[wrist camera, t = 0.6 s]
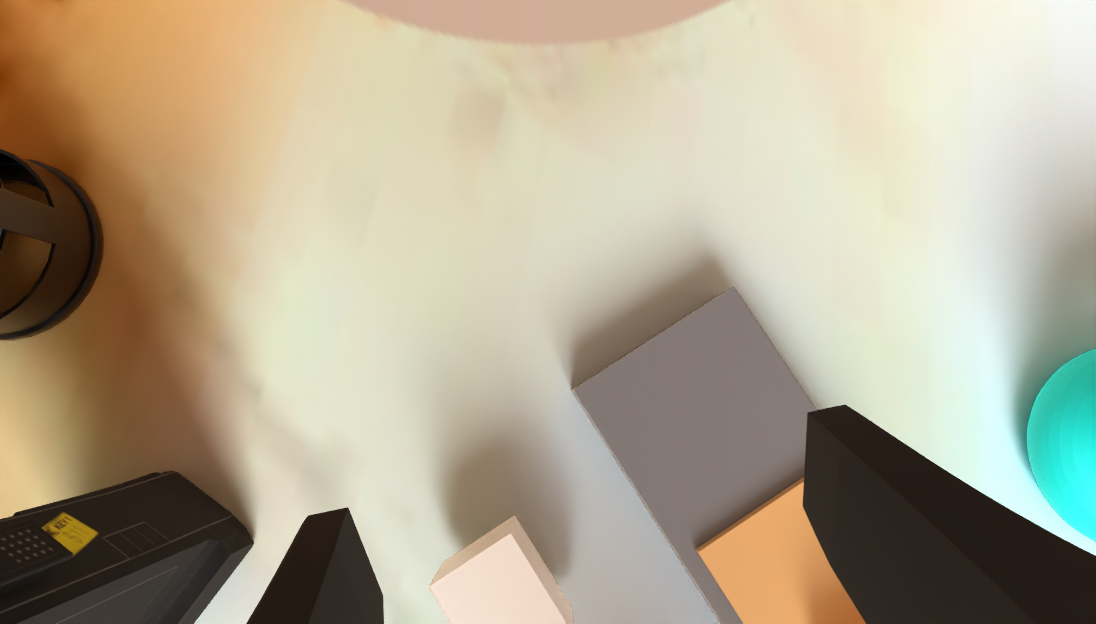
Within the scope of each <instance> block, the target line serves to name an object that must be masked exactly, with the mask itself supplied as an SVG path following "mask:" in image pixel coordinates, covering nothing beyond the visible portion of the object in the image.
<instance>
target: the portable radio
mask: <svg viewBox="0 0 1096 624" xmlns="http://www.w3.org/2000/svg"><path fill="white" fill-rule="evenodd" d="M253 544H254V542H253V540H252V539H251V537H250V535H249V533H248V532H247V530H246V528H245V526H244V525H242V524H241V523H240V522H239V521H238V520H237V519H236V518H235V517H234V516H233V515H232V514H231V513H230V512H229V511H227V510H226V509H225V508H223V507H222V506H221V505H219V504H218V503H217V502H216V501H214V500H213V499H212V498H210V497H209V496H208V495H206V494H205V493H204V492H202V491H201V490H200V489H199V488H197V487H196V486H195V485H193V484H192V483H191V482H189V481H188V480H187V479H185V478H184V477H183V476H182V475H180V474H179V473H177V472H174V471H169V472H164V473H162V474H161V473H151V474H148V475H145V476H142V477H139V478H136V479H134V480H131V481H128V482H125V483H122V484H118V485H115V486H112V487H108V488H105V489H101V490H98V491H95V492H91V493H88V494H84V495H80V496H76V497H73V498H69V499H65V500H61V501H57V502H54V503H50V504H46V505H42V506H39V507H35V508H31V509H27V510H23V511H20V512H16V513H15V514H14V515H13V516H12V517H7V518H3V519H0V624H194V623H195V621H196V620H197V619H198V617H199V616H200V615H201V613H202V612H203V611H204V609H205V608H206V607H207V605H208V604H209V603H210V602H211V600H212V599H213V598H214V596H215V595H216V594H217V592H218V591H219V590H220V588H221V587H222V586H223V584H224V583H225V582H226V581H227V579H228V578H229V577H230V575H231V574H232V573H233V571H234V570H235V569H236V567H237V566H238V565H239V564H240V562H241V561H242V560H243V558H244V557H245V556H246V554H247V553H248V552H249V550H250V549H251V548H252V546H253Z"/></svg>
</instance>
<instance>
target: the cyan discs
mask: <svg viewBox="0 0 1096 624" xmlns="http://www.w3.org/2000/svg"><path fill="white" fill-rule="evenodd" d="M1027 449H1028V456H1029V461H1030V465H1031V469H1032V472H1033V475H1034V477H1035V480H1036V482H1037V484H1038V486H1039V488H1040V490H1041V492H1042V493H1043V495H1044V497H1045V498H1046V500H1047V501H1048V503H1049V504H1050V505H1051V507H1052V508H1053V509H1054V510H1055V511H1056V513H1057V514H1058V515H1059V516H1060V517H1061V518H1062V519H1063V520H1064V521H1066V522H1067V523H1068V524H1069V525H1070V526H1072V527H1073V528H1074V529H1076V530H1077V531H1079V532H1080V533H1082V534H1083V535H1085V536H1086V537H1088V538H1090V539H1092V540H1093V541H1096V349H1093V350H1090V351H1088V352H1085V353H1083V354H1081V355H1079V356H1077V357H1075V358H1073V359H1071V360H1070V361H1068V362H1067V363H1065V364H1064V365H1063V366H1061V367H1060V368H1059V369H1058V370H1057V371H1056V372H1055V373H1054V374H1053V375H1052V376H1051V377H1050V378H1049V379H1048V380H1047V382H1046V383H1045V385H1044V386H1043V387H1042V389H1041V390H1040V392H1039V394H1038V396H1037V398H1036V400H1035V402H1034V404H1033V407H1032V410H1031V413H1030V417H1029V422H1028V428H1027Z"/></svg>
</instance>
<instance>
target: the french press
mask: <svg viewBox="0 0 1096 624" xmlns="http://www.w3.org/2000/svg"><path fill="white" fill-rule="evenodd" d="M2 183H23V184H28V185H32V186H35V187H37V188H39V189H41V190H42V191H44V192H45V194H46V197H47V200H48V202H49V205H50V206H49V205H46V204H43V203H41V202H38V201H35V200H33V199H30V198H27V197H25V196H22V195H19V194H17V193H14V192H12V191H9V190H6V189H4V186H3V184H2ZM8 231H11V232H15V233H18V234H21V235H25V236H28V237H31V238H34V239H38V240H41V241H44V242H48V243H51V244H52V246H51V250H50V254H49V258H48V261H47V263H46V266H45V268H44V270H43V272H42V274H41V276H40V278H39V279H38V281H37V282H36V283H35V285H34V286H33V287H32V289H31V290H30V291H29V293H28V294H27V295H26V296H24V297H23V298H22V299H21V300H20V301H19V302H18V303H17V304H16V305H15V306H13V307H12V308H10V309H9V310H7V311H6V312H4V313H2V314H0V340H17V339H22V338H27V337H31V336H34V335H36V334H39V333H41V332H44V331H46V330H48V329H50V328H52V327H54V326H55V325H57V324H58V323H60V322H61V321H63V320H64V319H66V318H67V317H68V316H69V315H70V314H71V313H72V312H73V311H74V310H75V309H76V308H77V307H78V306H79V305H80V304H81V303H82V301H83V300H84V298H85V297H86V296H87V294H88V293H89V292H90V290H91V288H92V285H93V283H94V281H95V279H96V277H97V275H98V271H99V267H100V263H101V260H102V250H103V236H102V229H101V223H100V220H99V217H98V214H97V212H96V209H95V206H94V205H93V203H92V202H91V200H90V199H89V197H88V195H87V194H86V192H85V191H84V190H83V189H82V188H81V187H80V186H79V185H78V184H77V183H76V182H75V181H74V180H73V179H72V178H70V177H69V176H67V175H66V174H64V173H63V172H61V171H60V170H58V169H56V168H54V167H51V166H49V165H46V164H44V163H41V162H39V161H33V160H28V159H23V158H21V157H19V156H16V155H14V154H12V153H10V152H7V151H5V150H2V149H0V254H1V252H2V250H3V247H4V244H5V241H6V239H7V235H8Z"/></svg>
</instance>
